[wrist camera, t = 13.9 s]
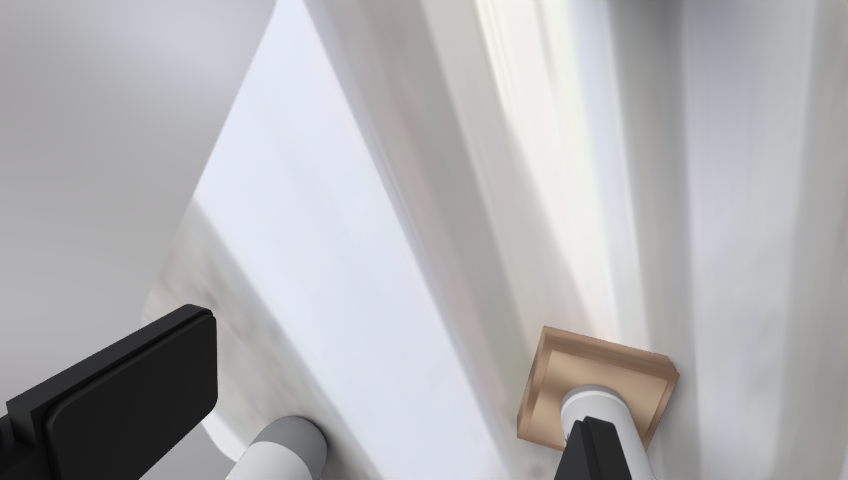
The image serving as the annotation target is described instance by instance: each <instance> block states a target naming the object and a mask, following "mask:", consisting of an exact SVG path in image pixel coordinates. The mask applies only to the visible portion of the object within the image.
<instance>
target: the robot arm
mask: <svg viewBox="0 0 848 480" xmlns="http://www.w3.org/2000/svg"><path fill="white" fill-rule="evenodd" d="M217 399H218V381H217V327H216V319H215V317H213V313H212V312H211V310H209V309H207V308H203V307H200V306H196V305H192V304H186V305H184V306H182V307H180V308H178V309H176V310H174V311H173V312H171V313H169V314H167V315H165V316H163V317H162V318H160V319H158V320H156V321H154V322H152V323H150V324H149V325H147V326H145V327H143V328H141V329H140V330H138V331H136V332H134V333H132V334H130V335H129V336H127V337H125V338H123V339H121V340H119V341H117V342H116V343H114V344H112V345H110V346H108V347H106V348H105V349H103V350H101V351H99V352H97V353H95V354H93V355H92V356H90V357H88V358H86V359H84V360H82V361H81V362H79V363H77V364H75V365H73V366H71V367H70V368H68V369H66V370H64V371H62V372H60V373H59V374H57V375H55V376H53V377H51V378H49V379H47V380H46V381H44V382H42V383H40V384H38V385H36V386H35V387H33V388H31V389H29V390H27V391H25V392H24V393H22V394H20V395H18V396H16V397H14V398H13V399H11V400H9V401H7V402H6V406H7V410H8V414H7V415H5V416H3V417H1V418H0V480H139V479H140V478H141V477H142V476H143V475H144V474H145V473H146V472H147V471H148V470H149V469H150V468H151V467H152V466H153V465H155V463H157V462H158V461H159V460H160V459H161V458H162V457H163V456H164V455H165V454H166V453H167V452H168V451H170V449H172V447H174V446H175V445H176V444H177V443H178V442H179V441H180V440H181V439H182V438H183V437H184V436H185V435H187V434H188V433H189V432H190V431H191V430H192V429H193V428H194V427H195V426H196V425H197V424H198V423H199V422H200V421H202V420H203V419H204V418H205V417H206V416H207V415H208V414H209V413H210V412H211V411H212V410H213V408H214V407H215V405H216V402H217ZM554 480H632V476H631V473H630V470H629V467H628V464H627V461H626V458H625V455H624V452H623V448H622V445H621V442H620V439H619V436H618V433H617V430H616V427H615V425H614V424H613V423H612V422H608V421H604V420H601V419H597V418H594V417H590V416H585V418H584V419H583V421H580V420H575V422H574V424H573V427H572V429H571V432H570V435H569V438H568V441H567V444H566V447H565V449H564V452H563V455H562V458H561V461H560V464H559V467H558V469H557V472H556V475H555V478H554Z"/></svg>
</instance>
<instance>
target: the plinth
mask: <svg viewBox="0 0 848 480" xmlns="http://www.w3.org/2000/svg"><path fill="white" fill-rule="evenodd" d="M678 377H679V373H678V372H677V370H676V369H675V367H674V366H673V364H672V363H671V361H670V359H669V358H668V357H667V356H663V355H659V354H655V353H651V352H647V351H643V350H639V349H635V348H631V347H627V346H623V345H619V344H615V343H611V342H607V341H603V340H599V339H595V338H591V337H587V336H583V335H579V334H575V333H571V332H567V331H563V330H559V329H555V328H551V327H547V326H544V327H543V330H542V334H541V337H540V341H539V344H538V347H537V351H536V354H535V358H534V361H533V365H532V368H531V371H530V375H529V378H528V382H527V385H526V389H525V392H524V396H523V399H522V402H521V406H520V409H519V413H518V416H517V438H520V439H524V440H527V441H530V442H534V443H537V444H540V445H544V446H547V447H550V448H554V449H557V450H560V451H564V449H565V445H564V438H563V431H562V424H561V417H560V404H561V401H562V399H563V397H564V396H565V395H566V394H567V393H568V392H569V391H571V390H572V389H574V388H576V387H578V386H582V385H587V384H595V385H601V386H605V387H608V388H610V389H612V390H614V391H615V392H617V393H618V394H619V395H620V396H621V397H622V398H623V399H624V400H625V402H626V404H627V406H628V409H629V412H630V414H631V417H632V419H633V422H634V424H635V427H636V430H637V432H638V435H639V437H640V440H641V442H642V445H643V448H644V450H645V452H646V450H647V448H648V446H649V443H650V441H651V439H652V436H653V434H654V432H655V430H656V427H657V425H658V423H659V421H660V418H661V416H662V414H663V411H664V409H665V407H666V405H667V402H668V400H669V398H670V395H671V393H672V391H673V389H674V386H675V384H676V382H677V379H678Z"/></svg>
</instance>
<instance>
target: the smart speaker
mask: <svg viewBox="0 0 848 480" xmlns="http://www.w3.org/2000/svg"><path fill="white" fill-rule="evenodd" d="M326 458H327V445H326V441H325V439H324V437H323V435H322V433H321V432H320V430H319V429H318V428H317V427H316V426H315V425H314V424H312V423H311V422H309V421H308V420H306V419H303V418H300V417H296V416H286V417H283V418H280V419H277V420H275V421H274V422H272V423H271V424H269V425H268V426H267V427H266V428H264V429H263V430H262V431H261V432H260V434H259V435H258V436H257V437H256V438H255V439H254V441H253V442H252V443H251V444H250V446H249V447H248V448H247V450H246V451H245V452H244V454H243V455H242V457H241V458H240V459H239V461H238V462H237V464H236V465H235V466H234V468H233V469H232V471H231V472H230V473H229V475H228V476H227V478H226V479H225V480H319V478H320V476H321V474H322V471H323V469H324V466H325V462H326Z"/></svg>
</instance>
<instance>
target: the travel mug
mask: <svg viewBox="0 0 848 480" xmlns="http://www.w3.org/2000/svg"><path fill="white" fill-rule="evenodd" d="M585 416H590V417H594V418H597V419H601V420H604V421H608V422H612V423H613V424H614V425H615V427H616V430H617V433H618V436H619V439H620V442H621V445H622V448H623V452H624V455H625V458H626V461H627V464H628V467H629V470H630V473H631V476H632V480H656V478H655V476H654V473H653V471H652V468H651V466H650V463H649V460H648V458H647V455H646V453H645V450H644V448H643V445H642V442H641V440H640V437H639V435H638V432H637V430H636V427H635V424H634V422H633V419H632V417H631V414H630V412H629V409H628V406H627V404H626V402H625V400H624V399H623V398H622V397H621V396H620V395H619V394H618V393H617V392H615V391H614V390H612V389H610V388H608V387H605V386H601V385H595V384H587V385H582V386H578V387H576V388H574V389H572V390H571V391H569V392H568V393H567V394H566V395H565V396H564V397H563V399H562V401H561V404H560V417H561V424H562V431H563V438H564V445H565V447H566V444H567V441H568V438H569V435H570V432H571V429H572V427H573V424H574V422H575V420H580V421H583V419H584V418H585Z"/></svg>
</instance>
